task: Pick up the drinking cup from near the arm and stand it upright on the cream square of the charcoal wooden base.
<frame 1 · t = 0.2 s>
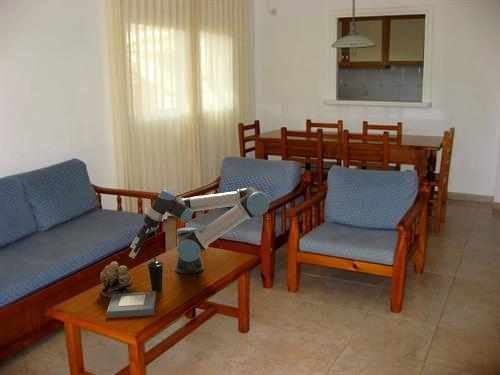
hand: (131, 252, 280), 16 cm above the table, tool tilted 35°, fingers open, 13 cm apart
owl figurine: (117, 294, 268), on the table
drinking cup: (157, 290, 271), on the table
base: (132, 307, 252), on the table
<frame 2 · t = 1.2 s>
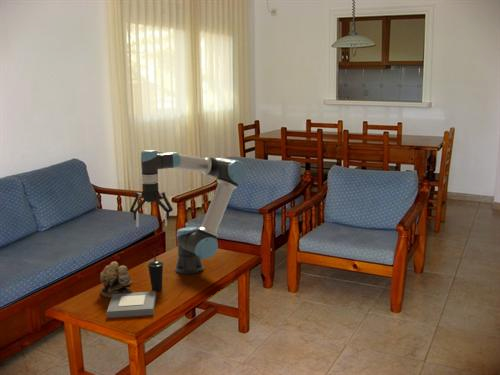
hand: (152, 226, 266), 32 cm above the table, tool pointing down, fingers open, 13 cm apart
nothing on the table moved.
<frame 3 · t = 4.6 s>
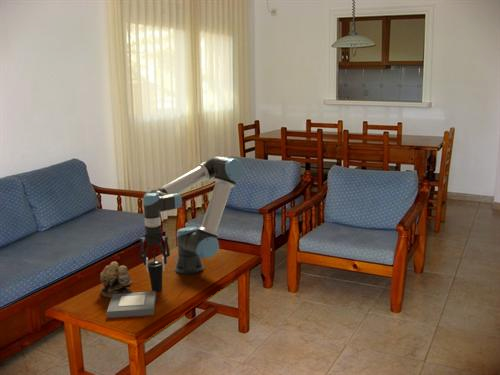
hand: (155, 270, 269), 10 cm above the table, tool pointing down, fingers closed on drinking cup, 7 cm apart
drinking cup: (157, 290, 271), on the table, touching gripper
everything else where it was.
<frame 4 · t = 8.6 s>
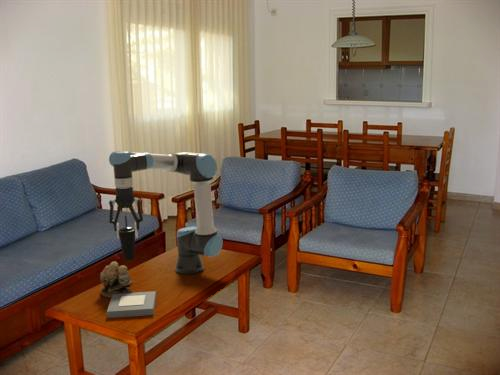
hand: (127, 237, 245), 33 cm above the table, tool pointing down, fingers closed on drinking cup, 7 cm apart
drinking cup: (129, 259, 247), point 23 cm above the table, touching gripper
everything else where it was.
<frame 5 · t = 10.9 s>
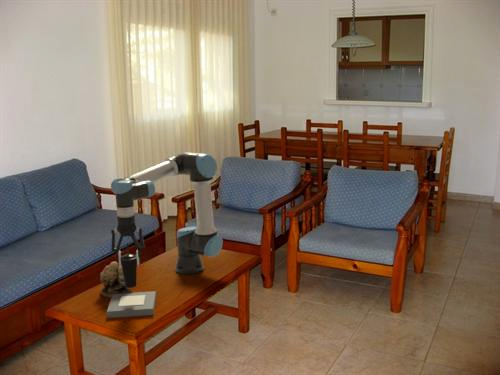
hand: (129, 264, 248), 20 cm above the table, tool pointing down, fingers closed on drinking cup, 7 cm apart
drinking cup: (130, 286, 250), point 10 cm above the table, touching gripper
everything else where it was.
when the fingers open (14 cm above the table, at t = 13.0 s): drinking cup stays where it is, resting on base.
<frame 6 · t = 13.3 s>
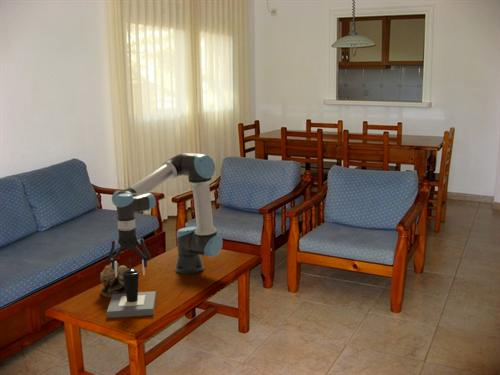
hand: (130, 275, 249), 15 cm above the table, tool pointing down, fingers open, 11 cm apart
drinking cup: (132, 300, 251), point 3 cm above the table, touching base
everything else where it was.
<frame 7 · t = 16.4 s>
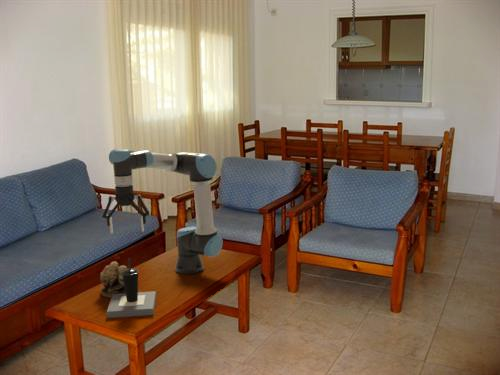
hand: (127, 231, 245), 36 cm above the table, tool pointing down, fingers open, 13 cm apart
nothing on the table moved.
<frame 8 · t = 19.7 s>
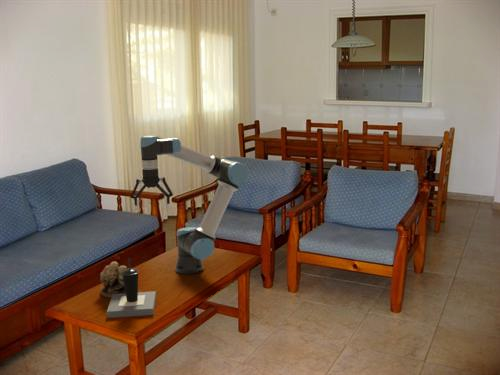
hand: (152, 211, 268), 39 cm above the table, tool pointing down, fingers open, 13 cm apart
nothing on the table moved.
at the end: drinking cup inside the target area on the base (0.1 cm from its centre), point 3.1 cm above the base's base; drinking cup tilted 0°; the gripper is holding nothing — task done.
